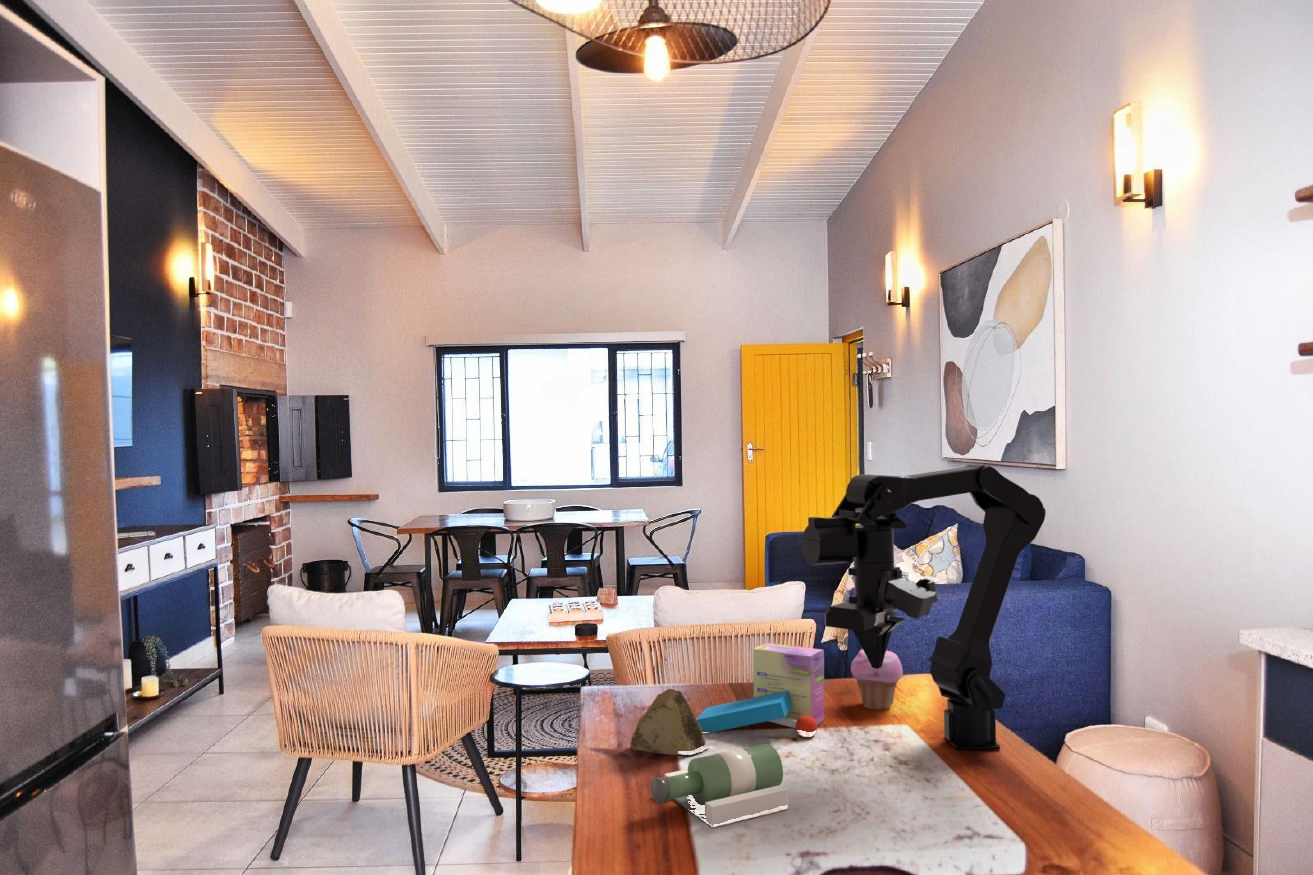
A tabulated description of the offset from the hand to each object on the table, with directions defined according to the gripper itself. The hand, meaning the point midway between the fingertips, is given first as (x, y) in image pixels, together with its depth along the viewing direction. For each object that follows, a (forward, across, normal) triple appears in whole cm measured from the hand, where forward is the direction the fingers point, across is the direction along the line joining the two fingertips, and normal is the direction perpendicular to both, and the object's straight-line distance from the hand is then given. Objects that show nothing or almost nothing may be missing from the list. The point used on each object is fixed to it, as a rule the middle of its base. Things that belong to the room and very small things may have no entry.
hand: (876, 668), depth 128 cm
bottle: (+9, -20, +5) cm, 23 cm away
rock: (+13, -18, +26) cm, 34 cm away
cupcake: (+13, +22, +12) cm, 28 cm away
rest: (+13, -27, +7) cm, 31 cm away
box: (+13, +6, +20) cm, 24 cm away
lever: (+13, -2, +20) cm, 24 cm away
